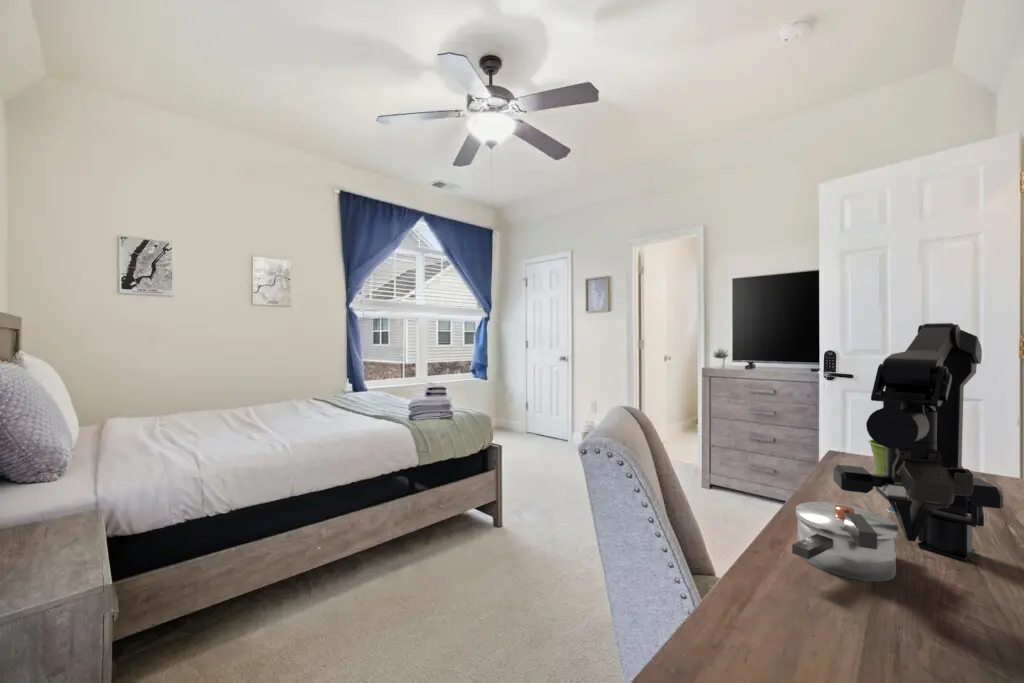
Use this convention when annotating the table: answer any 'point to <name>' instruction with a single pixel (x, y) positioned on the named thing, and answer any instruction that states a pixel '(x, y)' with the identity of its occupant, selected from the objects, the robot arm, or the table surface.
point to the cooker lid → (848, 522)
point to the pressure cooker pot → (846, 555)
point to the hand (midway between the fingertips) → (910, 540)
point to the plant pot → (879, 457)
